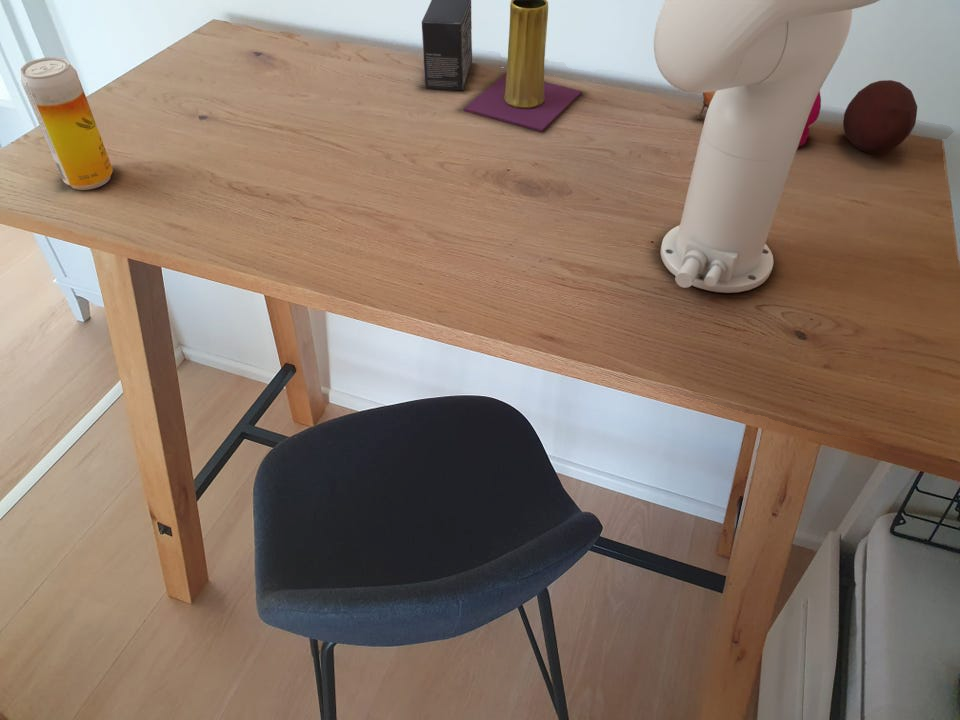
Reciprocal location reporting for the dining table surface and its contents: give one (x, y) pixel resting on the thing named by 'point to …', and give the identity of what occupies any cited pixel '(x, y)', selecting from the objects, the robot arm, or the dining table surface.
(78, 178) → the beer can
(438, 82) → the small box
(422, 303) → the dining table surface
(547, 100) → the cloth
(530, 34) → the vase
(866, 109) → the dark brown egg
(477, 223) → the dining table surface
